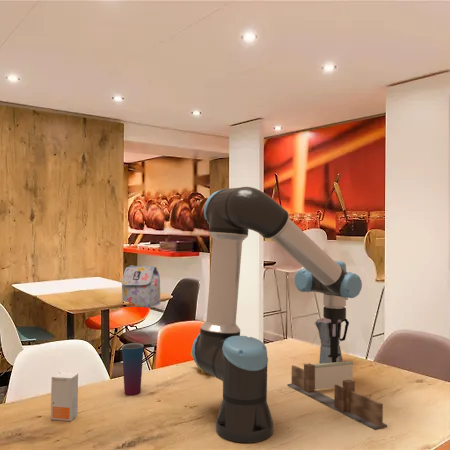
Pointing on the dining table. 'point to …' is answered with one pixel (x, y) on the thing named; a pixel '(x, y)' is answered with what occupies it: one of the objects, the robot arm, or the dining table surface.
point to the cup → (132, 368)
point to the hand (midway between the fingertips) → (334, 375)
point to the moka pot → (328, 339)
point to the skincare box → (64, 396)
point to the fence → (340, 398)
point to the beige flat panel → (332, 374)
